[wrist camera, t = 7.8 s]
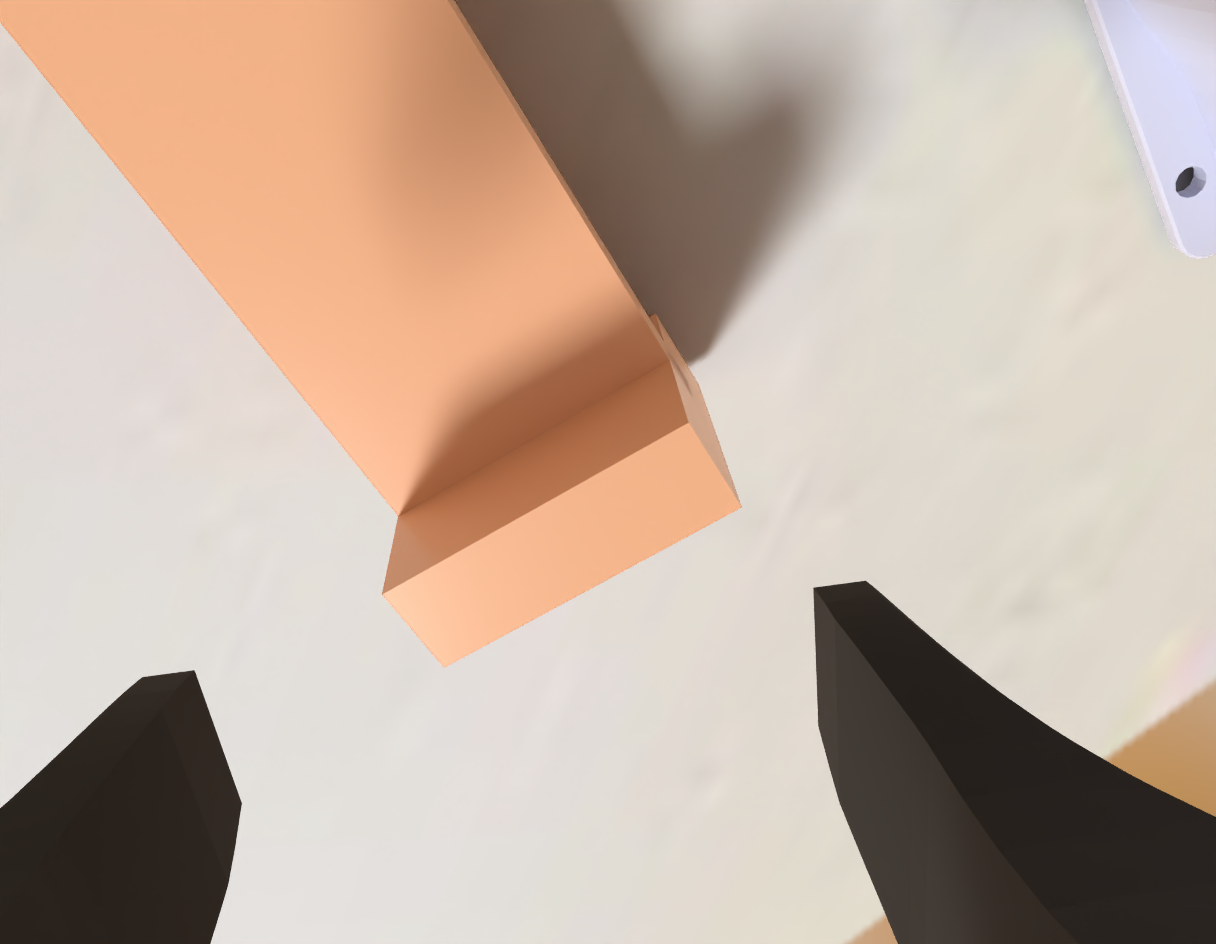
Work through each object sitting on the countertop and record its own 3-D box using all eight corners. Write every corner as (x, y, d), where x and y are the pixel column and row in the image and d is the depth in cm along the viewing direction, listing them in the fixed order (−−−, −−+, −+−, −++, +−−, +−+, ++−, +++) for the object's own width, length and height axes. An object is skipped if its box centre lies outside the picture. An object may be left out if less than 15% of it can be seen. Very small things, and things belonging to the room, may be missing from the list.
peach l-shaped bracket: (698, 384, 20) (741, 507, 16) (459, 519, 21) (443, 667, 17) (190, -450, 14) (58, -584, 10) (-107, -212, 15) (-333, -249, 11)
